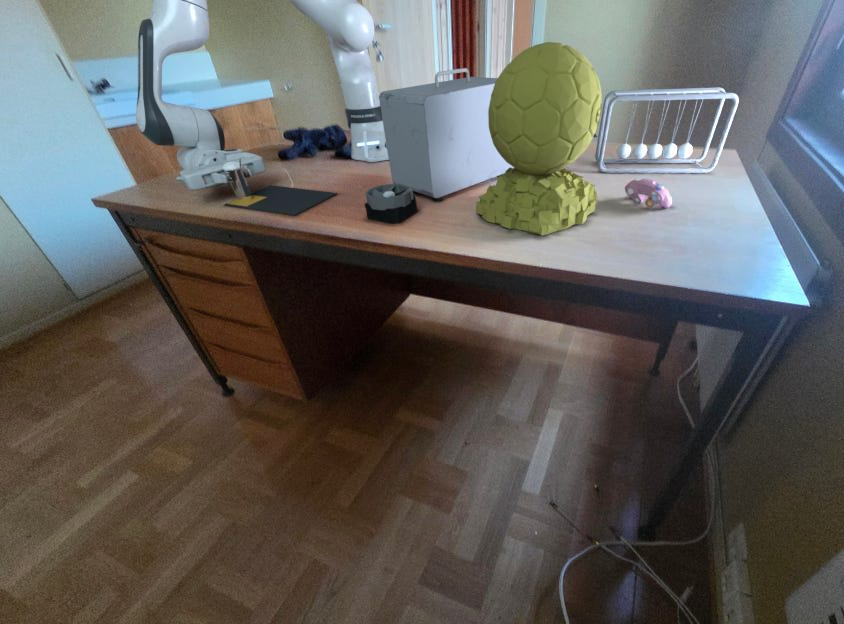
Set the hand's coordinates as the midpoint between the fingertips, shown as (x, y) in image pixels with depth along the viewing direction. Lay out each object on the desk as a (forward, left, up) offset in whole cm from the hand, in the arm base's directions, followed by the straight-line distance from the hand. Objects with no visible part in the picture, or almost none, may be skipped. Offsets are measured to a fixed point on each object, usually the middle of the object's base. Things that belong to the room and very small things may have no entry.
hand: (238, 176), depth 98 cm
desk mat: (-8, +1, -7) cm, 11 cm away
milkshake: (+1, -1, -6) cm, 6 cm away
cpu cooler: (-37, +20, -7) cm, 43 cm away
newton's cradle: (-110, +6, -7) cm, 110 cm away
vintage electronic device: (-55, 0, -7) cm, 55 cm away
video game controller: (-94, +31, -7) cm, 99 cm away
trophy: (-69, +29, -7) cm, 75 cm away
